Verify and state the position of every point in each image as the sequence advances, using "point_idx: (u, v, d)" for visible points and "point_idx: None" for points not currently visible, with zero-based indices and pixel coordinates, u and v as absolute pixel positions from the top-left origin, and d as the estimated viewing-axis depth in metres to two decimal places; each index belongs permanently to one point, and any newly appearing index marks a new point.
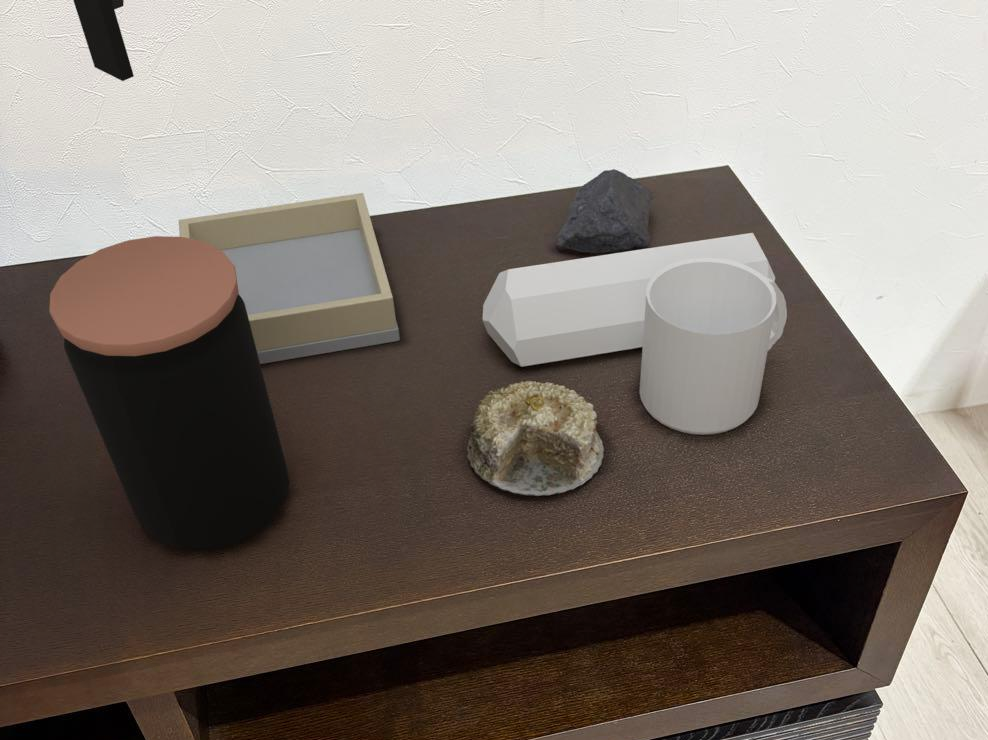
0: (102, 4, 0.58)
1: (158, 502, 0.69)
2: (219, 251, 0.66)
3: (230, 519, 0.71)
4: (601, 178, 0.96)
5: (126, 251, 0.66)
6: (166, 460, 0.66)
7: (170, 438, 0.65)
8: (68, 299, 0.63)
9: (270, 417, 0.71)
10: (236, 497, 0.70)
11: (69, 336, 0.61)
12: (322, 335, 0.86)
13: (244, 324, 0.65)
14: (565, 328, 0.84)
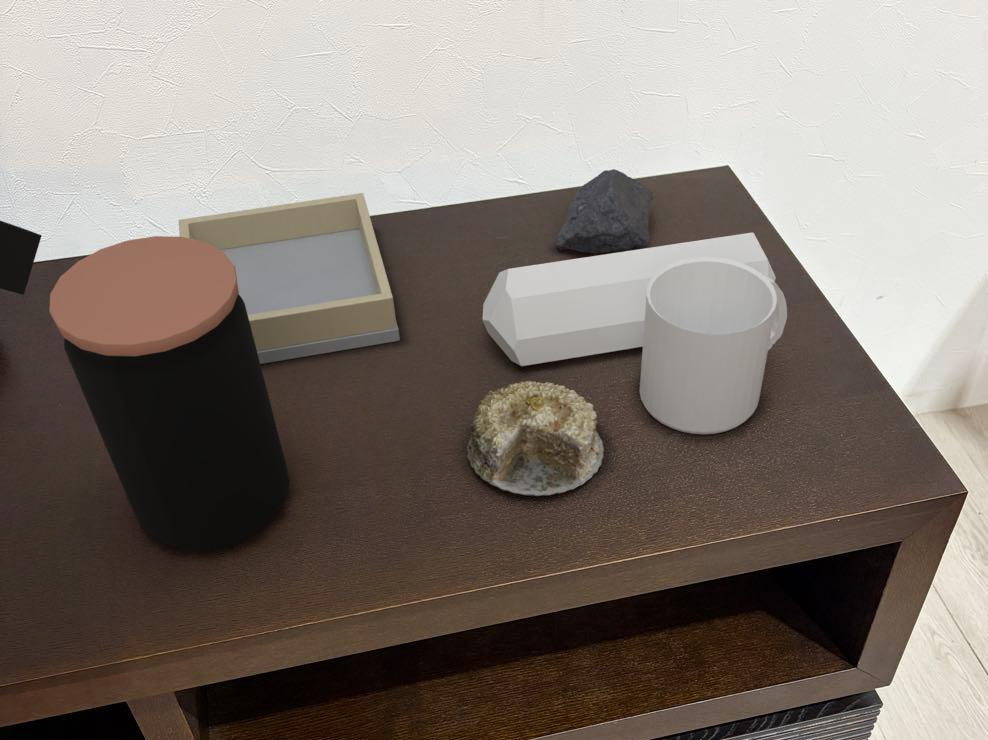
0: None
1: (158, 502, 0.69)
2: (219, 251, 0.66)
3: (230, 519, 0.71)
4: (601, 178, 0.96)
5: (126, 251, 0.66)
6: (166, 460, 0.66)
7: (170, 438, 0.65)
8: (68, 299, 0.63)
9: (270, 417, 0.71)
10: (236, 497, 0.70)
11: (69, 336, 0.61)
12: (322, 335, 0.86)
13: (244, 324, 0.65)
14: (565, 328, 0.84)
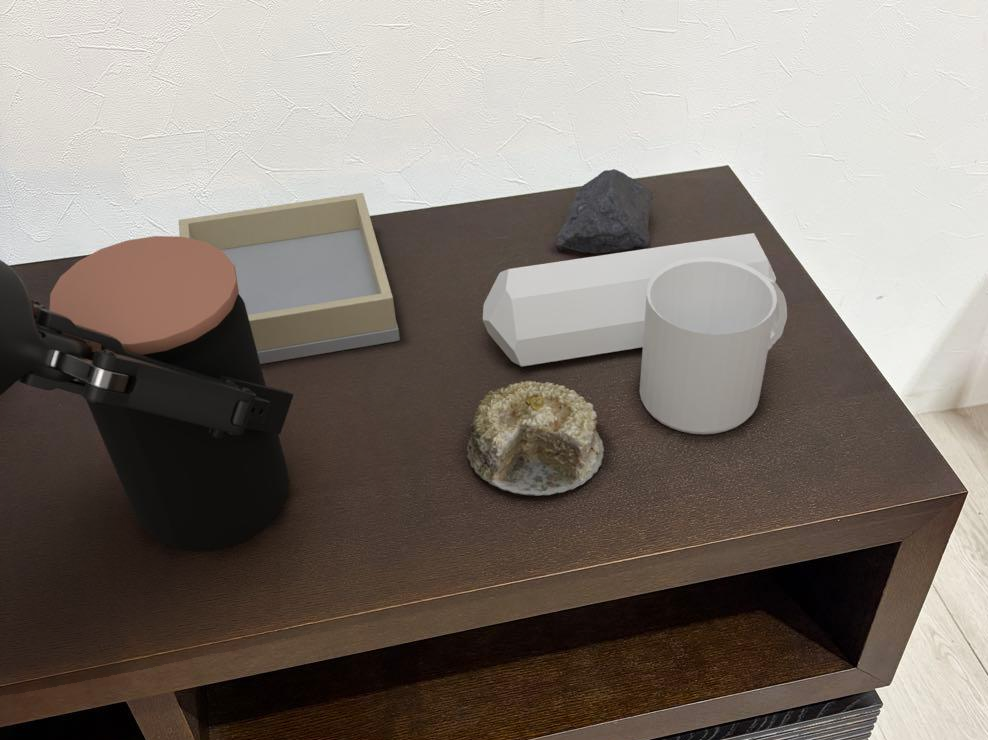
0: None
1: (159, 501, 0.69)
2: (219, 251, 0.66)
3: (230, 518, 0.71)
4: (601, 178, 0.96)
5: (126, 251, 0.66)
6: (166, 459, 0.66)
7: (170, 438, 0.65)
8: (68, 299, 0.63)
9: None
10: (236, 497, 0.70)
11: None
12: (322, 335, 0.86)
13: (244, 324, 0.65)
14: (565, 328, 0.84)
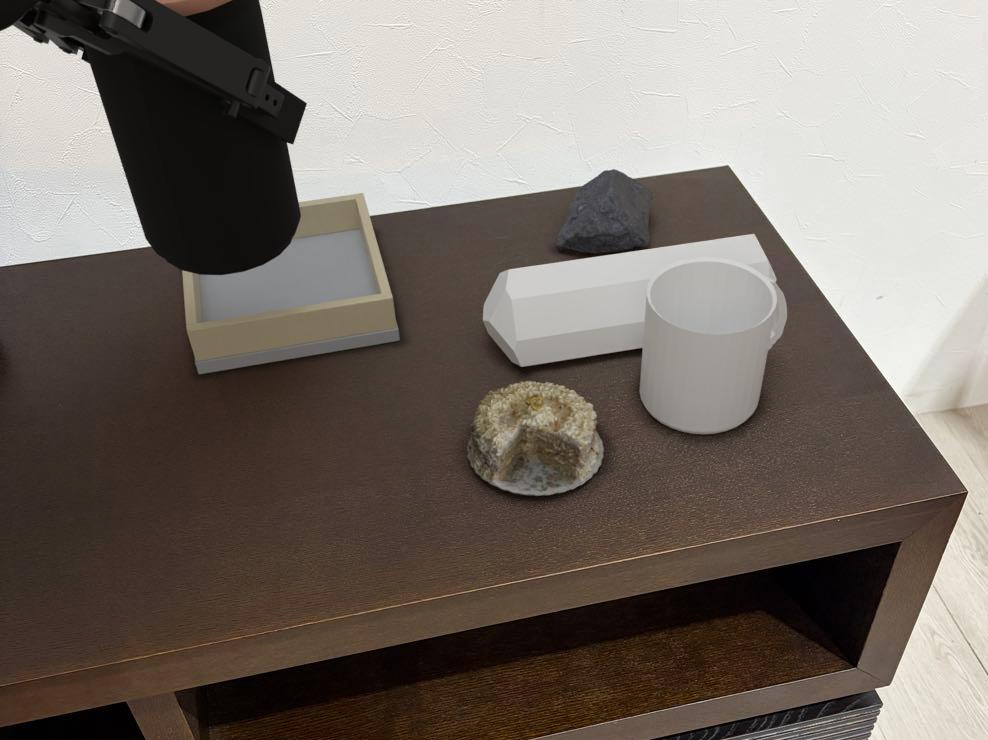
0: (246, 118, 0.67)
1: (171, 208, 0.69)
2: None
3: (243, 234, 0.71)
4: (601, 178, 0.96)
5: None
6: (179, 154, 0.66)
7: (184, 127, 0.65)
8: None
9: None
10: (249, 208, 0.71)
11: None
12: (322, 335, 0.86)
13: (259, 14, 0.65)
14: (565, 329, 0.84)
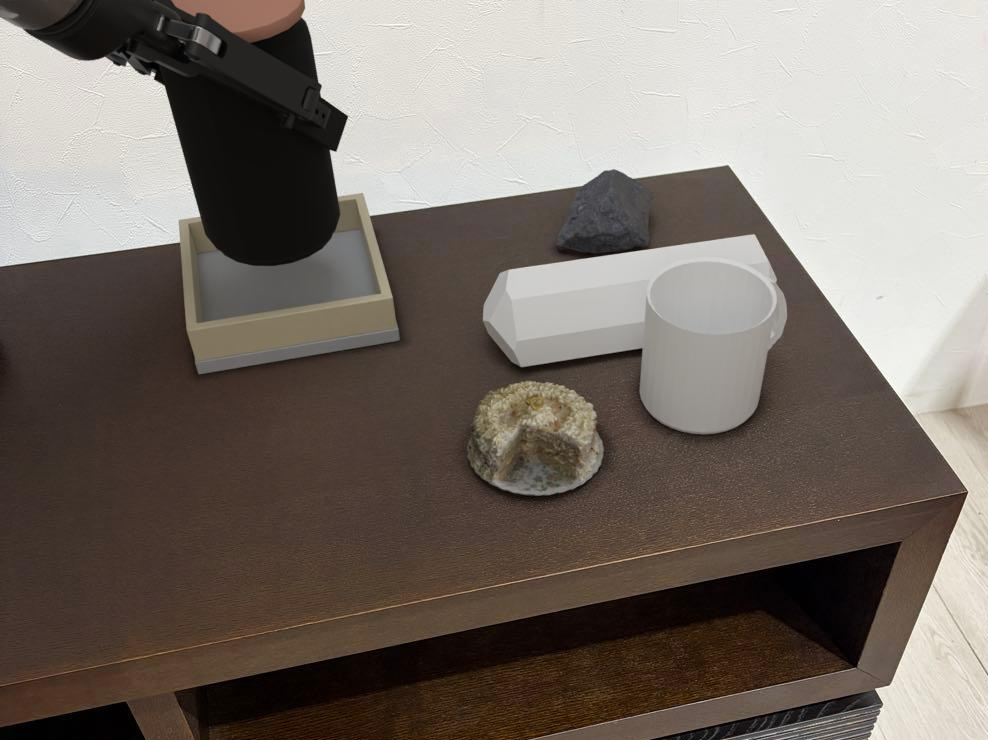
0: (298, 129, 0.77)
1: (231, 208, 0.80)
2: None
3: (292, 229, 0.82)
4: (601, 178, 0.96)
5: None
6: (240, 160, 0.77)
7: (245, 137, 0.76)
8: None
9: None
10: (298, 207, 0.81)
11: None
12: (322, 335, 0.86)
13: (309, 40, 0.76)
14: (565, 329, 0.84)
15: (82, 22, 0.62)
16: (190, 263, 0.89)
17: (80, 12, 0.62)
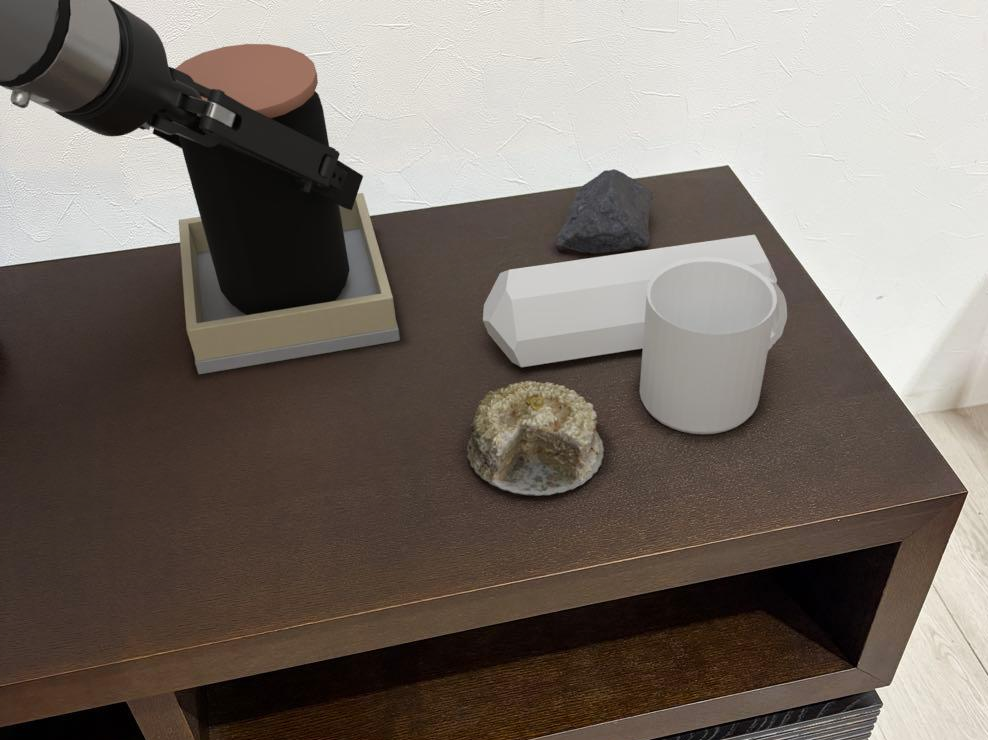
0: (315, 191, 0.80)
1: (247, 269, 0.84)
2: (300, 53, 0.80)
3: (304, 288, 0.86)
4: (601, 178, 0.96)
5: (224, 53, 0.80)
6: (256, 226, 0.81)
7: (261, 205, 0.80)
8: None
9: None
10: (309, 267, 0.85)
11: None
12: (322, 335, 0.86)
13: (321, 112, 0.80)
14: (565, 329, 0.84)
15: (108, 104, 0.66)
16: (190, 263, 0.89)
17: (107, 95, 0.65)
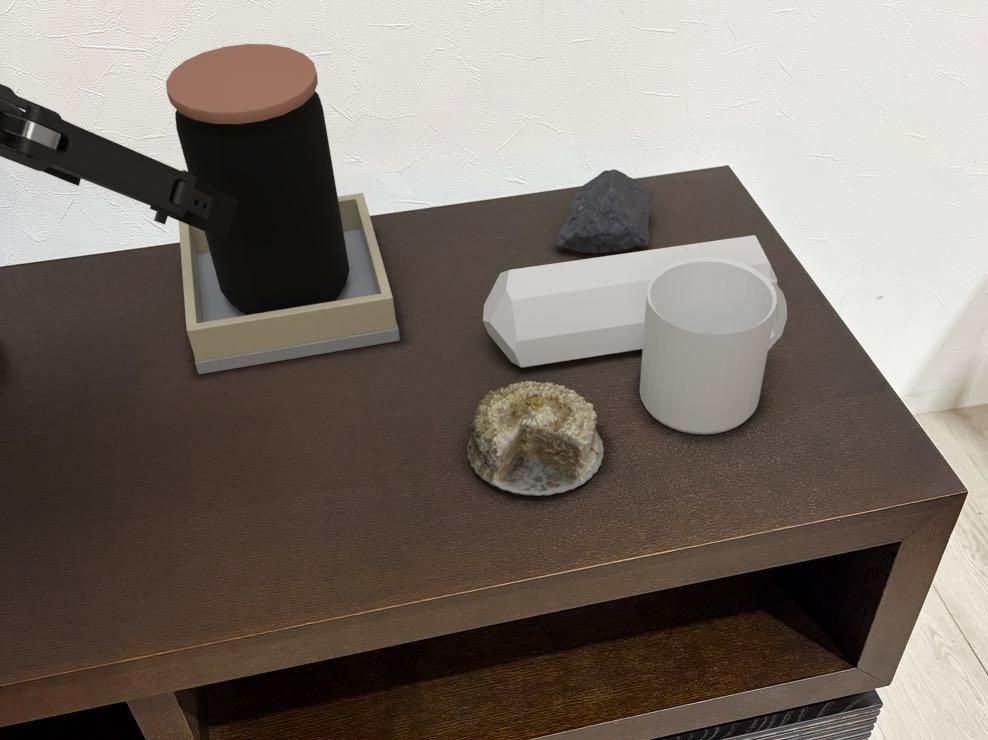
0: (178, 219, 0.69)
1: (247, 269, 0.84)
2: (300, 53, 0.80)
3: (304, 288, 0.86)
4: (601, 178, 0.96)
5: (224, 53, 0.80)
6: (256, 226, 0.81)
7: (261, 205, 0.80)
8: (181, 84, 0.77)
9: (337, 203, 0.86)
10: (309, 267, 0.85)
11: (185, 109, 0.76)
12: (322, 335, 0.86)
13: (321, 112, 0.80)
14: (565, 329, 0.84)
15: None
16: (190, 263, 0.89)
17: None
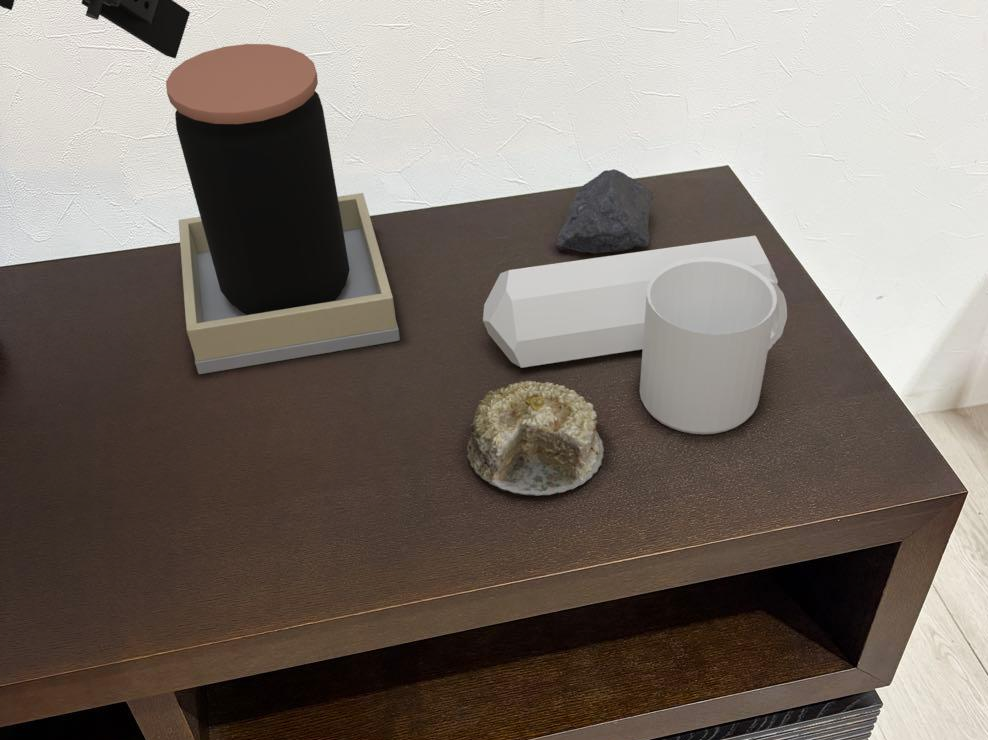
0: (116, 24, 0.60)
1: (247, 269, 0.84)
2: (300, 53, 0.80)
3: (304, 288, 0.86)
4: (601, 178, 0.96)
5: (224, 53, 0.80)
6: (256, 226, 0.81)
7: (261, 205, 0.80)
8: (181, 84, 0.77)
9: (337, 203, 0.86)
10: (309, 267, 0.85)
11: (185, 109, 0.76)
12: (322, 335, 0.86)
13: (321, 112, 0.80)
14: (565, 330, 0.84)
15: None
16: (190, 263, 0.89)
17: None
